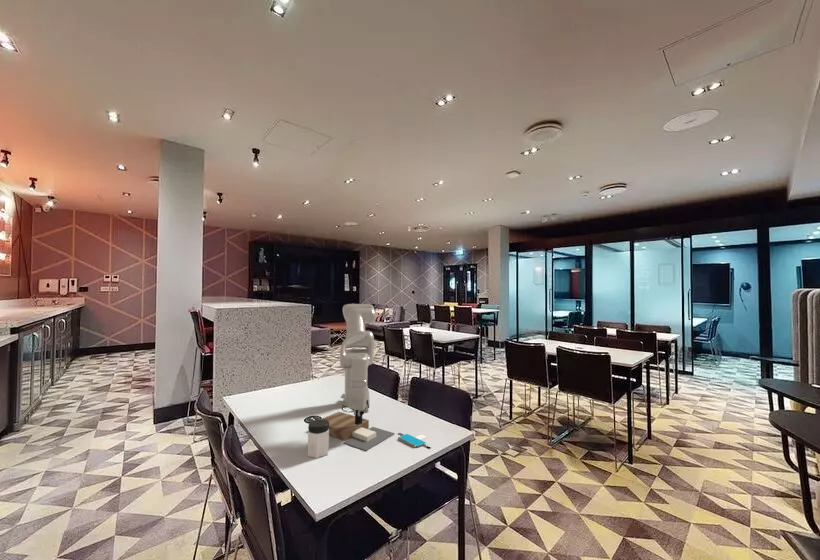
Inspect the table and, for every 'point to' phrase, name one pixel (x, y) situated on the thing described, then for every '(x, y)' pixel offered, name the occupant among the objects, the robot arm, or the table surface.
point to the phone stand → (412, 440)
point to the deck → (344, 425)
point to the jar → (318, 438)
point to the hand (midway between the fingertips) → (358, 423)
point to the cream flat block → (364, 434)
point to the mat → (367, 445)
